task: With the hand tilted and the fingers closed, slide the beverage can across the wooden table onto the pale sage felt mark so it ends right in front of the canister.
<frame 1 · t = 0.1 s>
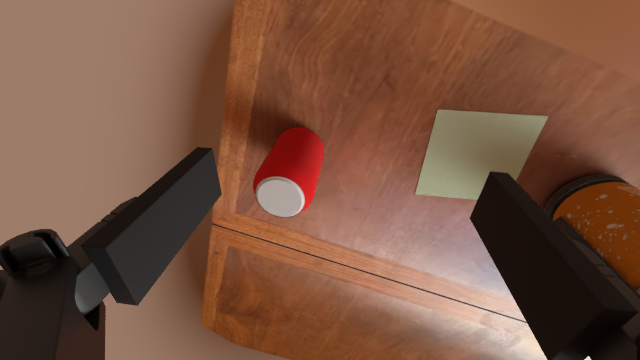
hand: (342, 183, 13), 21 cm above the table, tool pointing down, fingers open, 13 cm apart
felt mat: (474, 159, 34), on the table
beverage can: (301, 145, 35), on the table
canister: (571, 201, 35), on the table
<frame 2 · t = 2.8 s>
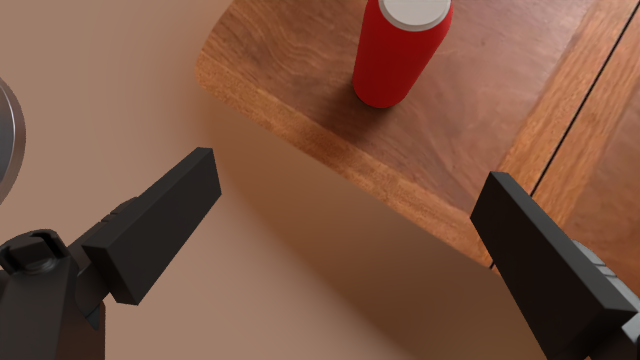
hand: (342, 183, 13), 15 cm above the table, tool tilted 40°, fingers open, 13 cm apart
beverage can: (379, 85, 29), on the table
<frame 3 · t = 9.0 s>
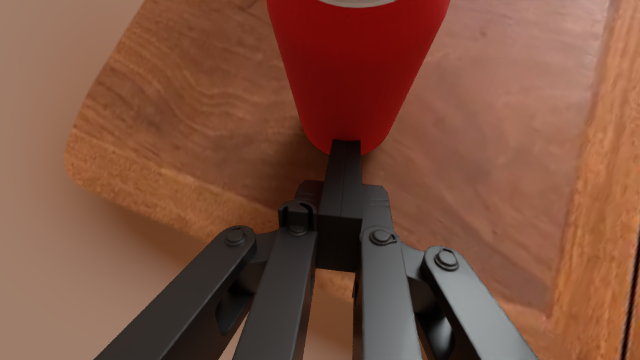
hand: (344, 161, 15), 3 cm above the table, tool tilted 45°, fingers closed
beverage can: (345, 122, 19), on the table, touching gripper
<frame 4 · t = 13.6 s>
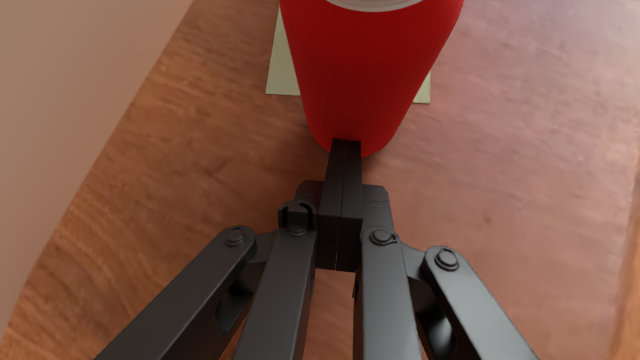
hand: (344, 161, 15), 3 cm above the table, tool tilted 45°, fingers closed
felt mat: (351, 29, 21), on the table
beverage can: (351, 122, 19), on the table
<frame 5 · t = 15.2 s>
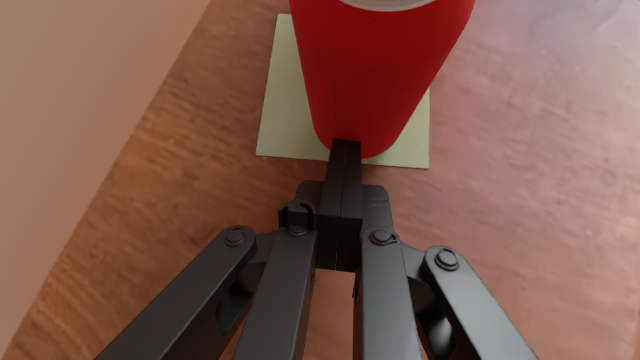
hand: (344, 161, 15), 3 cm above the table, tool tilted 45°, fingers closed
felt mat: (346, 84, 20), on the table
beverage can: (356, 123, 19), on the table, touching gripper
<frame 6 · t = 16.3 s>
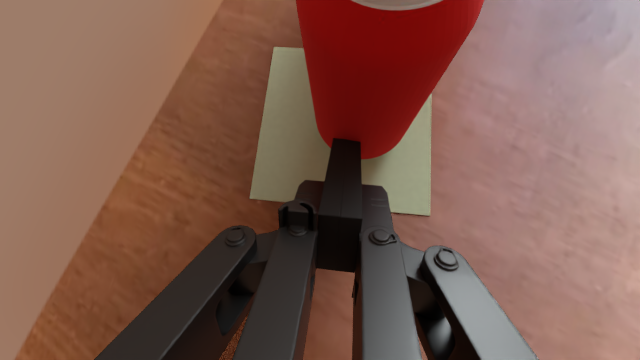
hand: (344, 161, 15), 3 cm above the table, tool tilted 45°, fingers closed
felt mat: (344, 123, 19), on the table
beverage can: (360, 123, 19), on the table, touching felt mat, gripper
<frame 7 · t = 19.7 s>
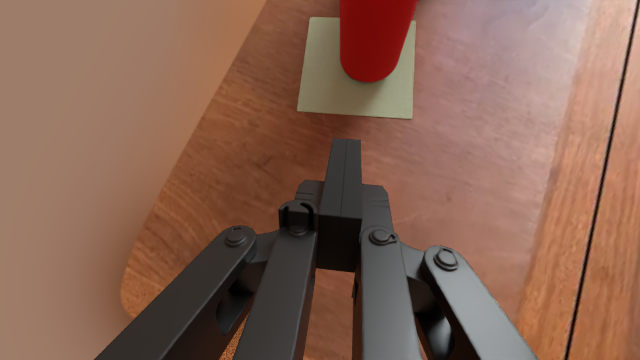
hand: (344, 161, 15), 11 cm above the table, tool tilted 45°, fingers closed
felt mat: (357, 65, 29), on the table
beverage can: (367, 64, 29), on the table, touching felt mat
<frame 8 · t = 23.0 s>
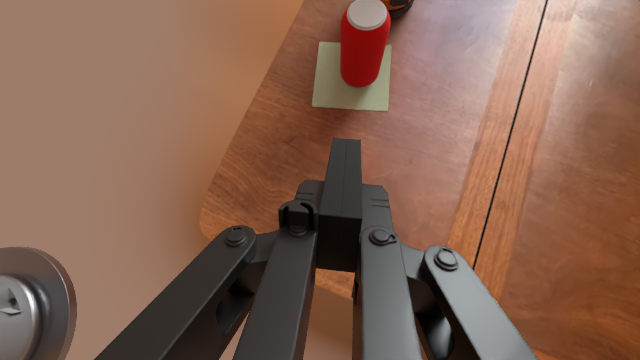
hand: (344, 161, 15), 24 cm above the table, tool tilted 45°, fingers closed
felt mat: (352, 75, 43), on the table
beverage can: (358, 74, 43), on the table, touching felt mat
canister: (387, 5, 46), on the table
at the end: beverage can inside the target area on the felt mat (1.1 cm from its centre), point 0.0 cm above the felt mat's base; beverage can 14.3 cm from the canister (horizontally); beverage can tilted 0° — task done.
